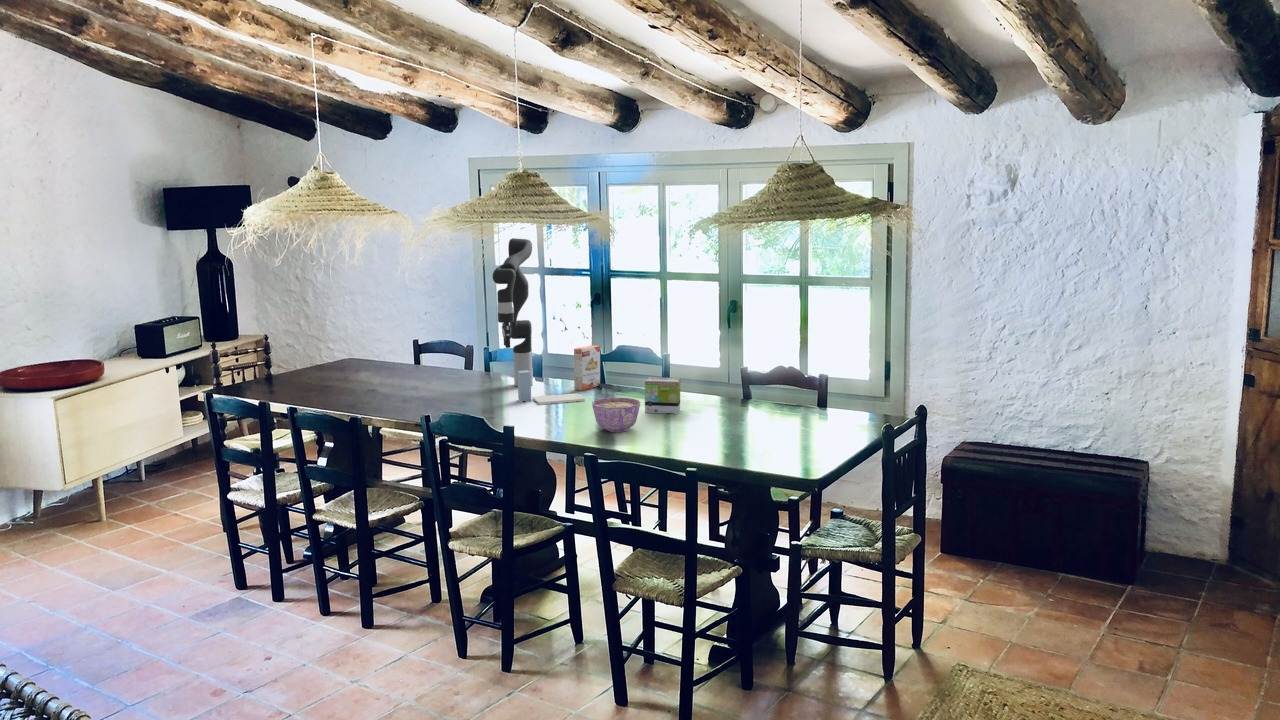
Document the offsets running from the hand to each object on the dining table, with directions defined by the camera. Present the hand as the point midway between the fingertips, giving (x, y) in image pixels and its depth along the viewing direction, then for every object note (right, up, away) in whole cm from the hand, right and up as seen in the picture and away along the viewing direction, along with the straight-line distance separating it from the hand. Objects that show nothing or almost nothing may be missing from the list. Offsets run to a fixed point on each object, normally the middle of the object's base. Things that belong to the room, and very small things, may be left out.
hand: (507, 346), depth 460 cm
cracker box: (+36, -21, +33) cm, 53 cm away
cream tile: (+23, -25, +6) cm, 35 cm away
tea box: (+72, -29, -20) cm, 80 cm away
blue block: (+8, -26, +5) cm, 27 cm away
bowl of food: (+52, -35, -53) cm, 83 cm away
